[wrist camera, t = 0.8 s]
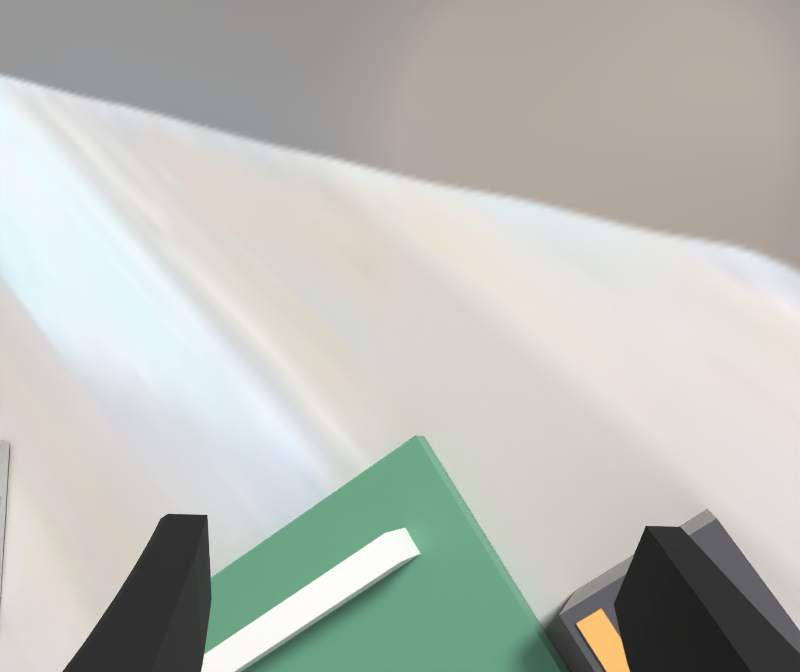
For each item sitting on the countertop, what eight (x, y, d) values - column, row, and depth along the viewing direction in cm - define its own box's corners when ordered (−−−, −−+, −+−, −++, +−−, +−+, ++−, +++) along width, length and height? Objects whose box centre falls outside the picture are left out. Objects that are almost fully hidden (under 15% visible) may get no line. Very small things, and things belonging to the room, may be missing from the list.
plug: (793, 626, 22) (822, 661, 18) (650, 708, 23) (648, 758, 19) (707, 509, 23) (716, 518, 19) (574, 591, 24) (558, 616, 20)
